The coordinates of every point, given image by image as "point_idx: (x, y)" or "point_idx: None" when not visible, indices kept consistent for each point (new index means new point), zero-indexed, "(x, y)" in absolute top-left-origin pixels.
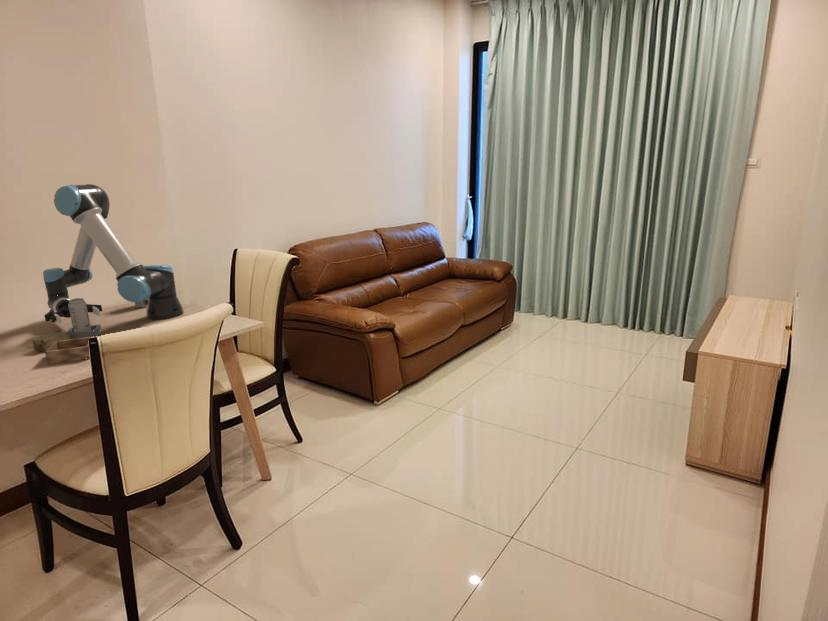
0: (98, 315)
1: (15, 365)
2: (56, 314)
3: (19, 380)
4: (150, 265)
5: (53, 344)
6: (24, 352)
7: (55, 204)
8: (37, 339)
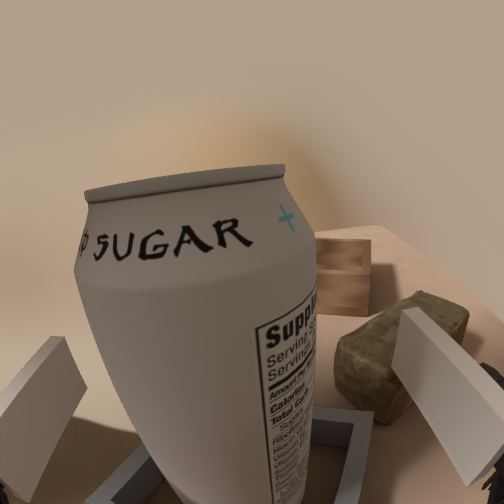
0: (83, 385)
1: (445, 285)
2: (483, 389)
3: (394, 246)
4: None
5: (366, 260)
6: (490, 356)
7: None
8: (452, 307)
